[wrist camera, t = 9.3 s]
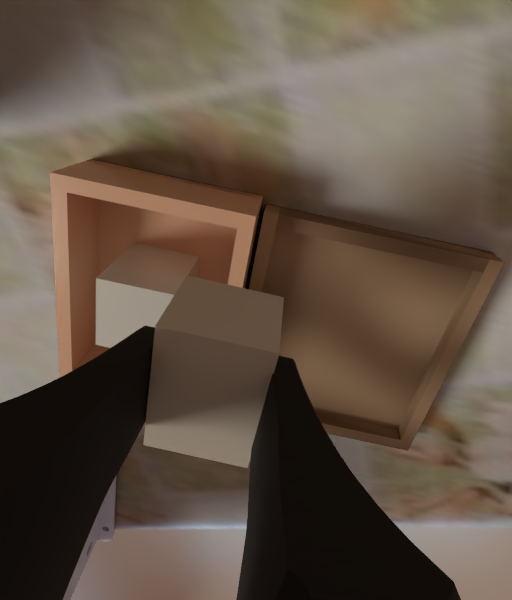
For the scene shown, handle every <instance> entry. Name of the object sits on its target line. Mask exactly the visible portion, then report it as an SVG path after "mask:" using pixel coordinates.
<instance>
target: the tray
mask: <svg viewBox="0 0 512 600" xmlns="http://www.w3.org/2000/svg"><path fill="white" fill-rule="evenodd" d="M503 264H504V262H503V261H502V260H501V259H499V258H498V257H497V256H496V255H495V254H494V253H492V252H488V251H484V250H479V249H474V248H470V247H465V246H460V245H456V244H451V243H446V242H442V241H437V240H432V239H428V238H423V237H418V236H414V235H409V234H404V233H400V232H395V231H390V230H385V229H381V228H376V227H371V226H367V225H362V224H357V223H353V222H348V221H343V220H339V219H334V218H329V217H325V216H320V215H315V214H311V213H306V212H301V211H297V210H292V209H287V208H283V207H278V206H273V205H269V204H266V207H265V211H264V215H263V220H262V225H261V230H260V235H259V240H258V245H257V250H256V255H255V260H254V265H253V270H252V275H251V280H250V285H249V290H254V291H258V292H263V293H267V294H272V295H276V296H281V297H284V302H283V315H282V327H281V339H280V352H279V356H283V357H287V358H292V359H293V360H294V361H295V363H296V366H297V369H298V372H299V375H300V377H301V380H302V382H303V385H304V387H305V390H306V392H307V394H308V397H309V399H310V401H311V403H312V405H313V407H314V409H315V412H316V414H317V416H318V418H319V420H320V422H321V423H322V425H323V427H324V429H325V431H326V433H328V434H333V435H338V436H342V437H347V438H352V439H356V440H361V441H366V442H370V443H375V444H380V445H384V446H389V447H394V448H398V449H403V450H408V449H409V447H410V445H411V443H412V441H413V439H414V437H415V436H416V434H417V432H418V430H419V428H420V426H421V424H422V422H423V420H424V418H425V416H426V414H427V412H428V410H429V408H430V406H431V404H432V402H433V400H434V399H435V397H436V395H437V393H438V391H439V389H440V387H441V385H442V383H443V381H444V379H445V377H446V375H447V373H448V371H449V369H450V367H451V365H452V364H453V362H454V360H455V358H456V356H457V354H458V352H459V350H460V348H461V346H462V344H463V342H464V340H465V338H466V336H467V334H468V332H469V330H470V328H471V327H472V325H473V323H474V321H475V319H476V317H477V315H478V313H479V311H480V309H481V307H482V305H483V303H484V301H485V299H486V297H487V295H488V293H489V291H490V290H491V288H492V286H493V284H494V282H495V280H496V278H497V276H498V274H499V272H500V270H501V268H502V266H503Z"/></svg>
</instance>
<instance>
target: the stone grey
mask: <svg viewBox="0 0 512 600" xmlns="http://www.w3.org/2000/svg"><path fill="white" fill-rule="evenodd" d="M198 264H199V256H196V255H191V254H187V253H182V252H177V251H173V250H168V249H163V248H159V247H154V246H149V245H144V244H140V243H134V244H133V245H132V246H131V247H129V248H128V249H127V250H126V251H125V252H124V253H123V254H122V255H121V256H120V257H119V258H117V259H116V260H115V261H114V262H113V263H112V264H111V265H110V266H109V267H108V268H107V269H105V270H104V271H103V272H102V273H101V274H100V275H99V276H98V277H97V278H96V345H99V346H104V347H109V348H111V347H113V346H114V345H116V344H117V343H119V342H120V341H122V340H123V339H125V338H126V337H128V336H129V335H131V334H132V333H134V332H135V331H137V330H138V329H140V328H142V327H143V326H150V327H154V328H155V325H156V324H157V322H158V320H159V319H160V317H161V316H162V314H163V312H164V311H165V309H166V308H167V306H168V304H169V303H170V301H171V300H172V298H173V296H174V295H175V293H176V292H177V290H178V288H179V287H180V285H181V284H182V282H183V280H184V279H185V277H186V276H192V277H196V278H197V271H198Z"/></svg>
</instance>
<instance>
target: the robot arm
mask: <svg viewBox="0 0 512 600" xmlns="http://www.w3.org/2000/svg"><path fill="white" fill-rule="evenodd" d="M154 333H155V328H154V327H150V326H143V327H142V328H140V329H138V330H137V331H135V332H134V333H132V334H131V335H129V336H128V337H126V338H125V339H123V340H122V341H120V342H119V343H117V344H116V345H114V346H113V347H111V348H110V349H108V350H107V351H105V352H103V353H102V354H100V355H99V356H97V357H95V358H94V359H92V360H91V361H89V362H87V363H85V364H84V365H82V366H80V367H78V368H77V369H75V370H73V371H71V372H69V373H68V374H66V375H64V376H62V377H60V378H58V379H56V380H54V381H52V382H50V383H48V384H46V385H44V386H41V387H39V388H37V389H35V390H33V391H30V392H28V393H26V394H23V395H21V396H19V397H16V398H13V399H11V400H8V401H5V402H3V403H0V600H70V599H71V597H72V594H73V592H74V590H75V588H76V585H77V583H78V581H79V579H80V577H81V575H82V572H83V570H84V568H85V566H86V563H87V561H88V559H89V557H90V555H91V552H92V550H93V548H94V546H95V544H96V541H97V540H101V541H107V542H108V541H111V540H112V538H113V536H114V527H115V502H116V478H117V473H118V471H119V469H120V467H121V466H122V464H123V462H124V460H125V458H126V456H127V455H128V453H129V451H130V449H131V447H132V445H133V443H134V442H135V440H136V438H137V436H138V434H139V432H140V430H141V428H142V427H143V425H144V423H145V421H146V413H147V403H148V393H149V383H150V373H151V363H152V353H153V343H154ZM237 600H461V599H460V597H459V594H458V592H457V589H456V587H455V584H454V582H453V581H452V580H451V579H450V578H449V577H448V576H447V575H446V574H445V573H444V572H443V571H442V570H440V569H439V568H438V567H437V566H436V565H435V564H434V563H433V562H432V561H431V560H430V559H429V558H428V557H427V556H426V555H425V554H424V553H422V552H421V551H420V550H419V549H418V548H417V547H416V546H415V545H414V544H413V543H412V542H411V541H410V540H409V539H408V538H407V537H406V536H405V535H404V534H403V533H402V531H401V530H400V529H399V528H398V527H397V526H396V525H395V524H394V523H393V522H392V521H391V520H390V519H389V517H388V516H387V515H386V514H385V513H384V512H383V511H382V509H381V508H380V507H379V506H378V505H377V504H376V502H375V501H374V500H373V499H372V497H371V496H370V495H369V494H368V493H367V491H366V490H365V489H364V488H363V486H362V485H361V484H360V483H359V481H358V480H357V479H356V477H355V476H354V475H353V473H352V472H351V471H350V469H349V468H348V466H347V465H346V463H345V462H344V460H343V459H342V457H341V456H340V454H339V453H338V451H337V450H336V448H335V446H334V445H333V443H332V441H331V440H330V438H329V436H328V434H327V433H326V431H325V429H324V427H323V425H322V423H321V422H320V420H319V418H318V416H317V414H316V412H315V409H314V407H313V405H312V403H311V401H310V399H309V397H308V394H307V392H306V390H305V387H304V385H303V382H302V380H301V377H300V375H299V372H298V369H297V366H296V363H295V361H294V360H293V359H292V358H287V357H283V356H279V357H278V360H277V364H276V367H275V371H274V374H273V373H272V377H271V380H270V384H269V388H268V391H267V395H266V398H265V402H264V405H263V409H262V413H261V416H260V420H259V423H258V427H257V431H256V434H255V438H254V441H253V445H252V448H251V463H250V483H249V503H248V520H247V530H246V539H245V546H244V553H243V560H242V567H241V574H240V580H239V587H238V594H237Z"/></svg>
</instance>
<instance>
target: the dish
mask: <svg viewBox="0 0 512 600" xmlns="http://www.w3.org/2000/svg"><path fill="white" fill-rule="evenodd" d="M50 183H51V204H52V225H53V246H54V267H55V288H56V309H57V330H58V351H59V372H60V377H62V376H64V375H66V374H68V373H69V372H71V371H73V370H75V369H77V368H78V367H80V366H82V365H84V364H85V363H87V362H89V361H91V360H92V359H94V358H95V357H97V356H99V355H100V354H102V353H103V352H105V351H107V350H108V349H110V348H109V347H104V346H99V345H96V278H97V277H98V276H99V275H100V274H101V273H102V272H103V271H104V270H105V269H107V268H108V267H109V266H110V265H111V264H112V263H113V262H114V261H115V260H116V259H117V258H119V257H120V256H121V255H122V254H123V253H124V252H125V251H126V250H127V249H128V248H129V247H131V246H132V245H133V244H134V243H140V244H144V245H149V246H154V247H159V248H163V249H168V250H173V251H177V252H182V253H187V254H191V255H196V256H199V264H198V271H197V278H201V279H205V280H209V281H214V282H218V283H223V284H227V285H232V286H236V287H241V288H245V287H246V282H247V277H248V272H249V266H250V261H251V256H252V251H253V246H254V241H255V236H256V231H257V226H258V221H259V216H260V211H261V206H262V200H263V196H260V195H255V194H250V193H246V192H241V191H236V190H232V189H227V188H222V187H218V186H213V185H208V184H204V183H199V182H194V181H190V180H185V179H180V178H176V177H171V176H166V175H162V174H157V173H152V172H148V171H143V170H138V169H133V168H129V167H124V166H119V165H115V164H110V163H105V162H101V161H96V160H91V159H90V160H87V161H84V162H81V163H77V164H74V165H71V166H68V167H65V168H62V169H59V170H56V171H53V172H50Z"/></svg>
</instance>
